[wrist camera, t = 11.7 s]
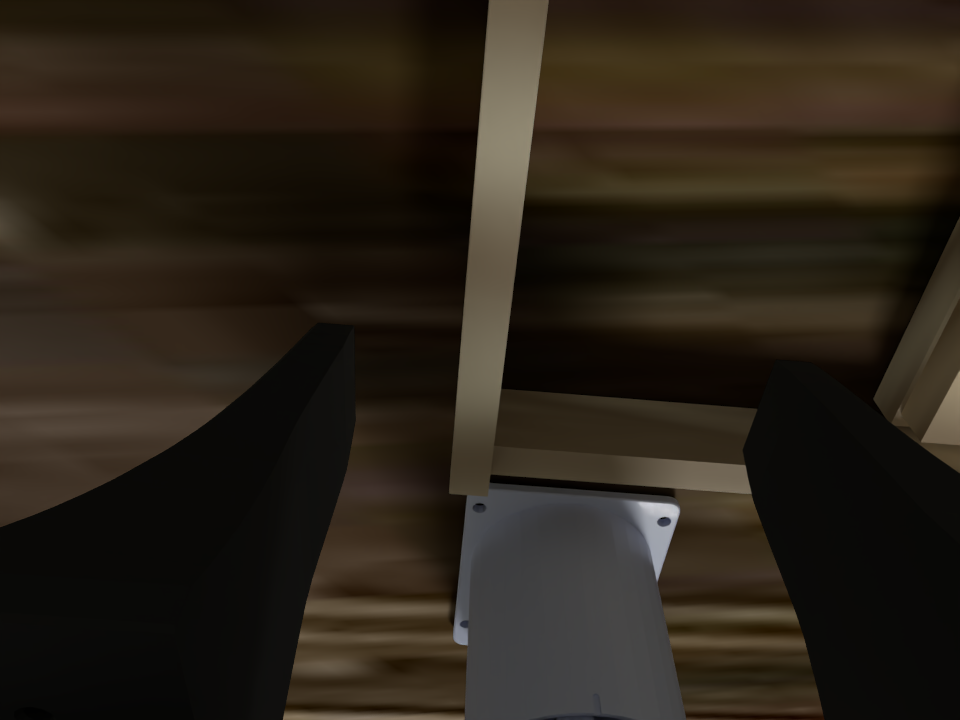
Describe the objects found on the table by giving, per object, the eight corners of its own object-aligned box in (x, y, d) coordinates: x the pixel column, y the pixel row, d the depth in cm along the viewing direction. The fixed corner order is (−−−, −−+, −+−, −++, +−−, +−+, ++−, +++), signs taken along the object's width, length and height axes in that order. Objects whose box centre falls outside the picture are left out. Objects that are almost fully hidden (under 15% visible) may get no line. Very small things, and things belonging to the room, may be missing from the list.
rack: (975, 452, 27) (1040, 537, 24) (455, 412, 27) (449, 493, 23) (1276, -49, 18) (1448, -23, 15) (498, -126, 18) (499, -117, 14)
